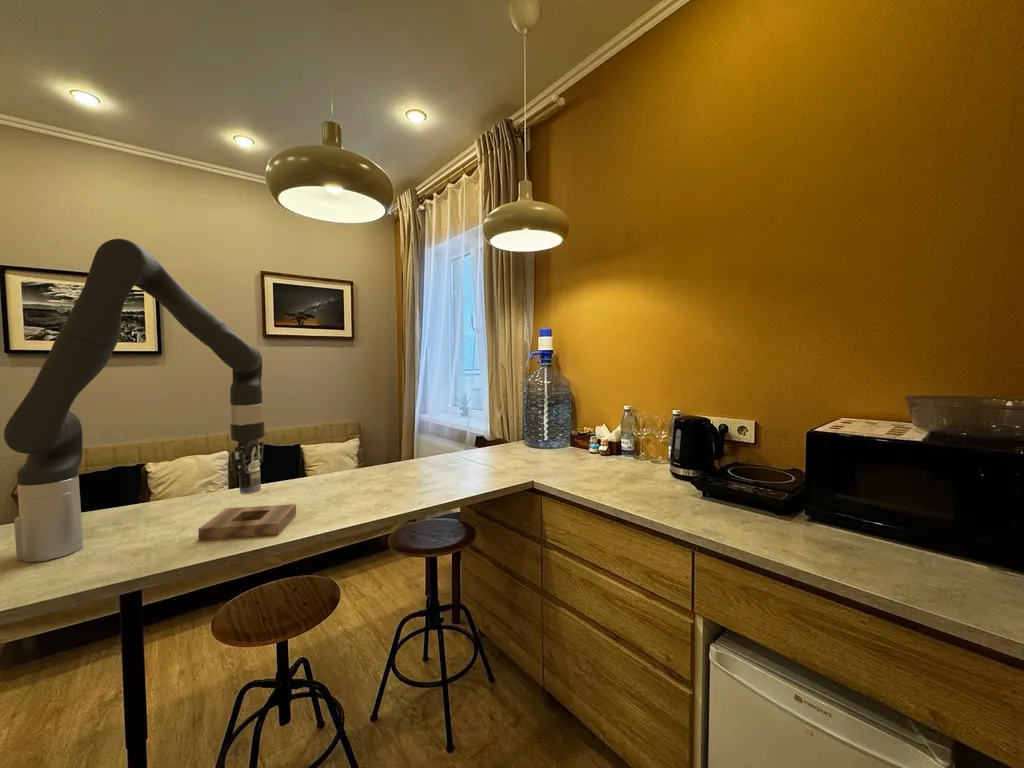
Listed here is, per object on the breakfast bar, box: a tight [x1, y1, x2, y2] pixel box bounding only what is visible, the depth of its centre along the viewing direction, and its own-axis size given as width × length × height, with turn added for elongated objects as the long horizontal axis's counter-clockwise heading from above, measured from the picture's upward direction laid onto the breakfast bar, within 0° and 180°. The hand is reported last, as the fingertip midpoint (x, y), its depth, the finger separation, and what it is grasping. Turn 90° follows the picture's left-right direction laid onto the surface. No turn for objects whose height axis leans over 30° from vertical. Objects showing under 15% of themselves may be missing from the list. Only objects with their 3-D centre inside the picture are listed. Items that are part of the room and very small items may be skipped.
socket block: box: [198, 503, 297, 541], centre depth 108 cm, size 18×14×3 cm
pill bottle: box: [238, 459, 262, 495], centre depth 108 cm, size 5×5×8 cm
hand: (250, 484), depth 108 cm, fingers closed on pill bottle, 4 cm apart
